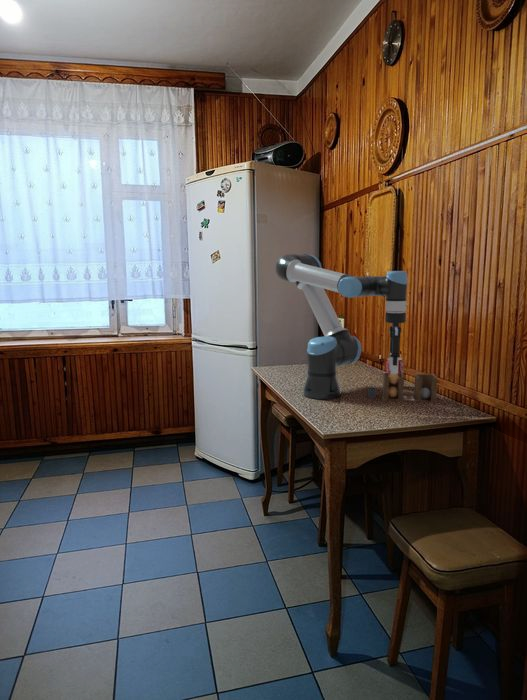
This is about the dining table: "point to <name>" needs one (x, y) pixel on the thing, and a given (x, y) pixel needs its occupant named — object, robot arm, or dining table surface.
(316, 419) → the dining table surface
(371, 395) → the rubber stand
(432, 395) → the rack
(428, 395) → the grey ball
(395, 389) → the brown ball in tube
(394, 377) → the brown ball
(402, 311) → the robot arm
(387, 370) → the soda can
